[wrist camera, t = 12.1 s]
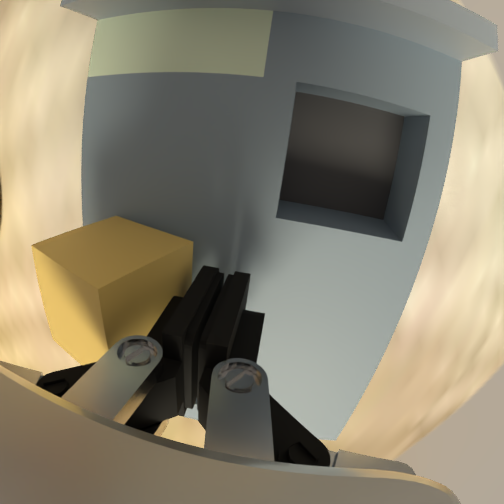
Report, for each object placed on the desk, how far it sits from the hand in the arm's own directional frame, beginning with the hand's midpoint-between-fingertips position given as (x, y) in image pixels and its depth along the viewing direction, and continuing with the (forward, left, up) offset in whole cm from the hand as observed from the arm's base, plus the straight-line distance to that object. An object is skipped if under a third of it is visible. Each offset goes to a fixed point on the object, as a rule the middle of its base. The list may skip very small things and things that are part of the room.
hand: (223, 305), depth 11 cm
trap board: (0, +1, -4) cm, 4 cm away
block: (-3, 0, -1) cm, 3 cm away
